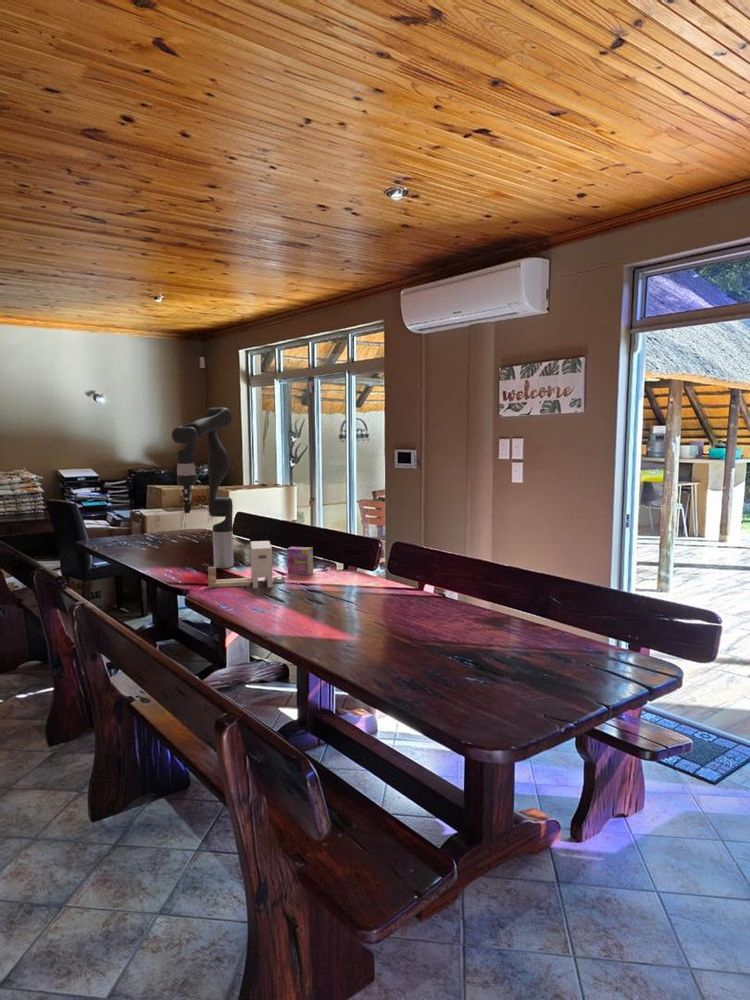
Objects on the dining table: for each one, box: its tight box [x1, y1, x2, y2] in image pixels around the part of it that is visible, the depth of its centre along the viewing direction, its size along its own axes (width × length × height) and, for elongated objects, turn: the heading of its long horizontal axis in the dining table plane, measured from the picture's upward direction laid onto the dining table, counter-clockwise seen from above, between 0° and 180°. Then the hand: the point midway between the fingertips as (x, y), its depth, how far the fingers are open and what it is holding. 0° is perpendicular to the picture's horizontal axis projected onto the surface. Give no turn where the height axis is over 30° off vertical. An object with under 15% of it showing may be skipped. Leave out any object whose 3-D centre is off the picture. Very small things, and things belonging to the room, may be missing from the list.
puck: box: [273, 575, 286, 584], centre depth 274 cm, size 5×5×2 cm
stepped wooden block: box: [207, 566, 251, 589], centre depth 269 cm, size 7×17×8 cm, turn 102°
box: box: [286, 546, 314, 576], centre depth 289 cm, size 10×6×12 cm, turn 73°
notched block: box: [250, 540, 274, 589], centre depth 271 cm, size 19×8×16 cm, turn 13°
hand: (187, 511), depth 274 cm, fingers open, 8 cm apart
